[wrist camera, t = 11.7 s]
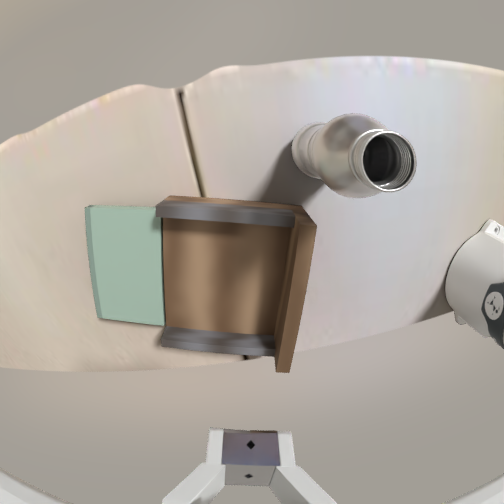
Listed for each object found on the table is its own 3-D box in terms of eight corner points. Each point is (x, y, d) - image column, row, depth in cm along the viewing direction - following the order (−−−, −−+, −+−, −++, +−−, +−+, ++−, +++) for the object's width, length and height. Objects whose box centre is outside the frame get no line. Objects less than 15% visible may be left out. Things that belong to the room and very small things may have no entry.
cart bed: (301, 205, 36) (316, 225, 28) (282, 330, 42) (289, 372, 34) (169, 195, 36) (146, 212, 27) (171, 321, 42) (156, 361, 33)
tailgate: (160, 210, 33) (84, 207, 32) (164, 325, 39) (97, 317, 38) (163, 207, 35) (89, 205, 34) (166, 319, 40) (101, 312, 39)
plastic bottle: (341, 178, 35) (430, 220, 16) (287, 174, 35) (329, 214, 16) (344, 126, 33) (439, 117, 14) (288, 121, 33) (336, 96, 14)
